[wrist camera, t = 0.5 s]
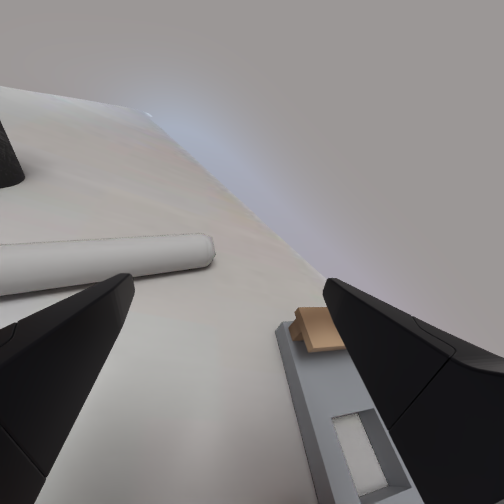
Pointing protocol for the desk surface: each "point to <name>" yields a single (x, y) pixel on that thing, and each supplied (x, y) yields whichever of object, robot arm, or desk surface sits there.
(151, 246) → the tube
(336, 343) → the tan angled block
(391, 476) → the socket slab
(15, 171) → the travel mug
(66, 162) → the desk surface
